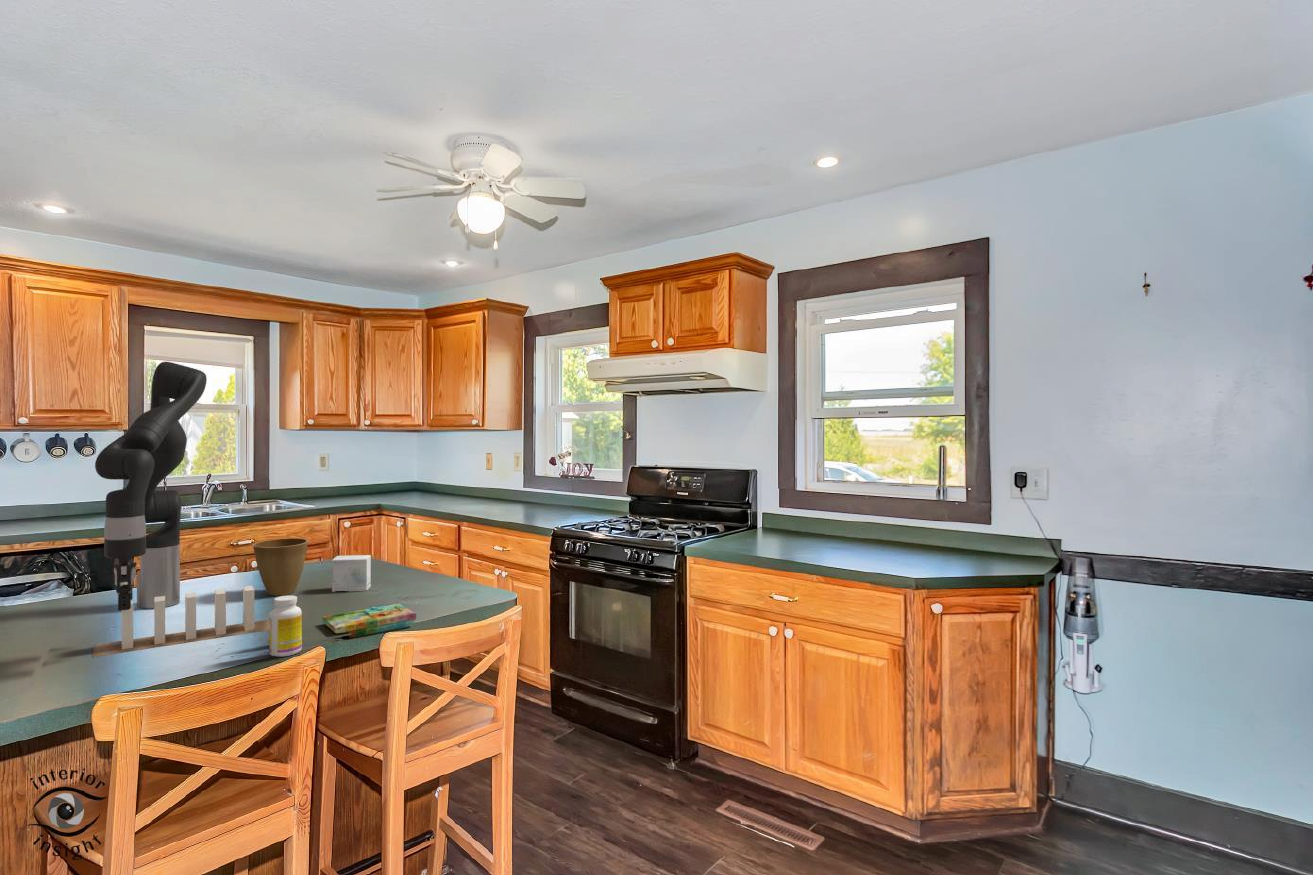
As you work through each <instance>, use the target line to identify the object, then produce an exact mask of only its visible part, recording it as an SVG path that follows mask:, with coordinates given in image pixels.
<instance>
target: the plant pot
mask: <svg viewBox="0 0 1313 875" xmlns="http://www.w3.org/2000/svg"><path fill="white" fill-rule="evenodd" d="M308 544H309V540H308V539H306V538H301V537H299V538H298V537H287V538H275V539H267V540H263V541H258V542H255V543H253V544H252V547H253V552H254V557H255V562H256V567H257V569H258V573H259V576H260V578H261V580H262V583H263V587H264V588H265V591H266V592H267V593H266V594H267V595H269V596H271V597H281V596H289V595H292V594H294V593H295V592H296V590H297V588H298V585H299V583H300V579H301V577H302V574H303V570H304V567H305V562H306V561H305V560H306V556H307V551H308Z"/></svg>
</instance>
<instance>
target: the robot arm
mask: <svg viewBox="0 0 1313 875" xmlns="http://www.w3.org/2000/svg"><path fill="white" fill-rule="evenodd" d="M206 387H207V374H206V373H205V372H204V371H202V370H199V369H197V368H194V367H190V366H187V365H186V366H185V365H184V364H179V363H176V362H172V361H171V362H170V361H161V362H160V363H158V365H157V366H156V367H155V370H154V373H153V376H152V381H151V388H150V390H151V391H150V407H149V408H150V409H149V410H147V411H144V412H143V413H142V414H140V415H139V416H138V417H137V418H136V419H135V420H134V421H133V423H132V424H131V425H130V427H129V428H128V429H127V431H126V432H125V434H123V435H121V436H119V437H118V438H117V439H115V440H114V441H112V442H110V444H108V445H107V446H105V447H104V448H103V449H102V450H101V451H100V452H99V454H98V455H97V457H96V459H95V462H94V469H95V472H96V473H97V475H98V476H100V477H101V478H103V479H105V480H116V481H117V480H125V481H126V480H128V483H127V485H126V487H125V488H122V489H116V490H112V491H109V492H108V493H107V494H106V495H105V496H106V497H105V522H104V526H103V527H104V528H103V530H104V531H103V532H104V533H103V534H104V536H103V540H104V541H103V542H104V543H103V544H104V545H103V548H104V558H107V559H110V560H114V559H117V560H118V563H115V564H114V566H113V574H114V584H115V586H116V589H115V592H116V594H117V609H118V611H121V612H122V610H129V609H130V608H131V600H133V585H134V584H135V579H136V607H140V608H143V609H154V599H155V597H161V596H165V608H168V607H171V606H172V607H173V606H175V605H177V604H180V603H181V600H180V599H181V589H180V588H181V581H180V580H181V565H180V564H181V562H180V560H181V553H180V551H181V547H180V546H181V545H180V544H181V543H180V540H181V539H180V538H181V537H180V536H181V516H182V515H181V514H182V498H181V494H180V492H179V491H178V490H176V489H162V490H156V489H157V487H158V486H159V484H160V483H161V482H162V481H163V480H164V479H165V478H167V477H168V476H169V475H170V474H172V472H173V471H174V470H175V469H177V468H178V467H179V466H180V465H181V463H182V462H183V460H184V458H185V453H186V450H187V442H188V438H187V434H186V431H185V429H184V428H183V426H182V425H181V423H180V419H182V417H184V415H186V414H187V413H188V411H190V410H191V409H192V407H193V406H195V404H196V403H197V402H198V401H199V400H200V399H201V397H202V396H203V394H204V392H205V389H206ZM171 399H172V400H171ZM155 523H156V524H157V523H164V524H163V525H162V526H161V527H160V528H159V529H157V530H155V531H153V532H150V533H148V534H147V524H155ZM135 557H137V558H138V557H139V561H140V562H139V563H140V564H139V568H140V569H139V572H138V573H136V571H137V567H138V566H137V562H136V561H135V562H134V559H135Z"/></svg>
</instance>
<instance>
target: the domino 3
mask: <svg viewBox="0 0 1313 875" xmlns="http://www.w3.org/2000/svg"><path fill="white" fill-rule="evenodd" d="M184 594H185V595H184V596H185V598H184V599H185V600H184V603H185V605H184V606H185V607H184V608H185V611H184V612H185V614H184V615H185V619H184V621H185V622H184V624H185V630H184V632H185V635H186V640H188V639H195V638H196V630H197V593H196V592H188V593H184Z"/></svg>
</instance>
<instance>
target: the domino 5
mask: <svg viewBox="0 0 1313 875" xmlns="http://www.w3.org/2000/svg"><path fill="white" fill-rule="evenodd" d="M254 622H255V588H254V586H253V585H248V586H242V623H243V627H244V630H245V631H248V630H254Z"/></svg>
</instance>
